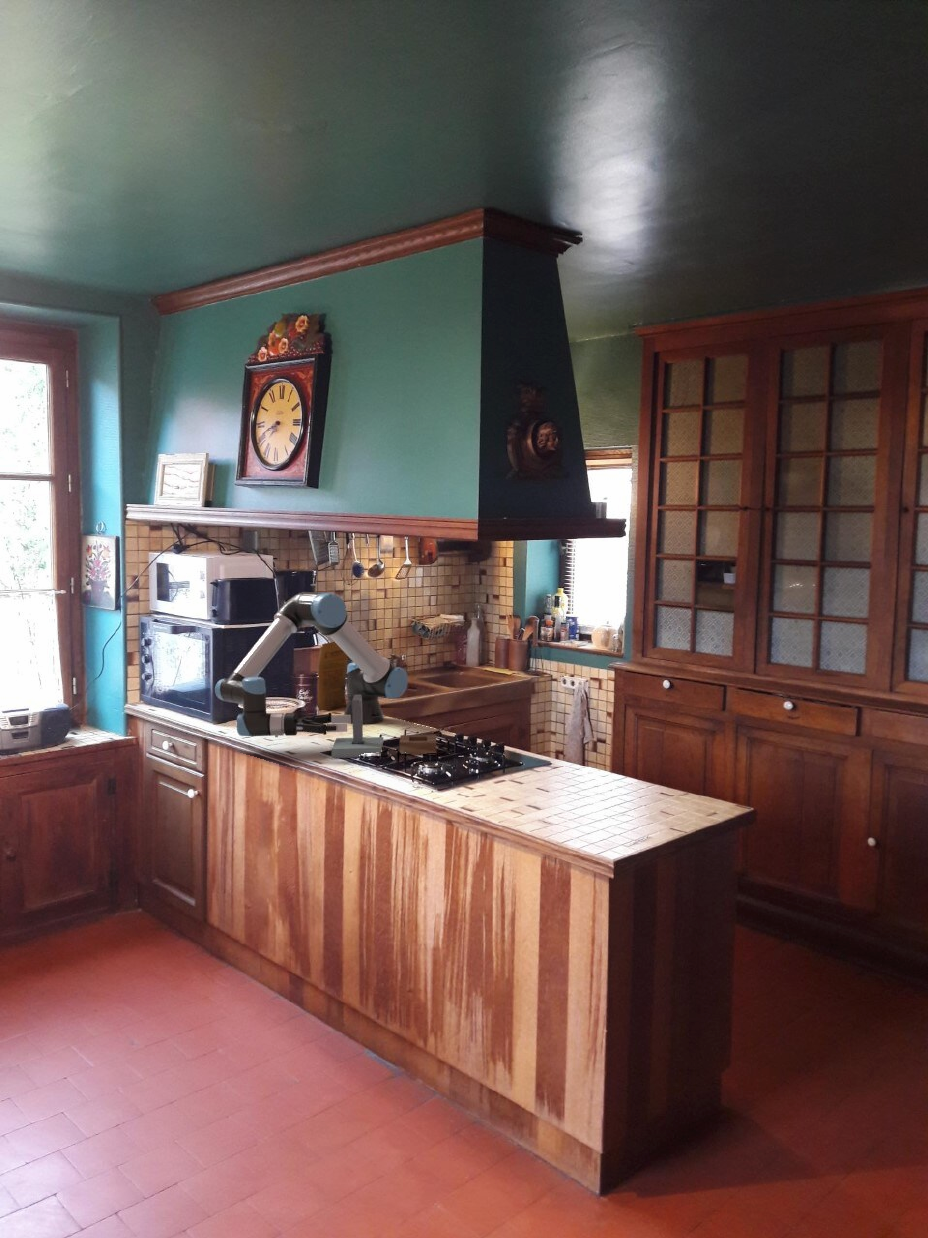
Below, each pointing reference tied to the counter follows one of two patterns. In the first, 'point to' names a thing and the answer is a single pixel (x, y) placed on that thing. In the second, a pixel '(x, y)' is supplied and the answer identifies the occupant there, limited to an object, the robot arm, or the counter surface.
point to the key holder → (418, 744)
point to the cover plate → (356, 747)
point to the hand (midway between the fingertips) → (349, 723)
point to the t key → (357, 719)
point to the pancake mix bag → (332, 677)
